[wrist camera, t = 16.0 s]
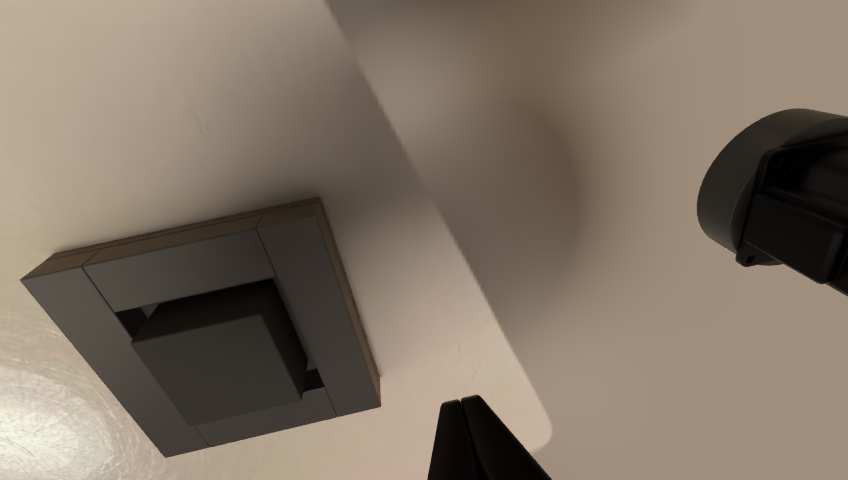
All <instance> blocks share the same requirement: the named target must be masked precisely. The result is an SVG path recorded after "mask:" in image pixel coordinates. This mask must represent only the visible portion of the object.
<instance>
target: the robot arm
mask: <svg viewBox="0 0 848 480" xmlns="http://www.w3.org/2000/svg"><path fill="white" fill-rule="evenodd" d="M772 160H773V161H772ZM775 260H778V261H779V262H781V263H783V264H785V265H787V266H788V267H790V268H792V269H794V270H795V271H797V272H799V273H801V274H802V275H804V276H806V277H808V278H809V279H811V280H813V281H815V282H817V283H819V284H827V285H828V286H830V287H832V288H834V289H836V290H837V291H839V292H841V293H843V294H845V295H846V296H848V132H844V133H839V134H835V135H830V136H826V137H821V138H817V139H812V140H808V141H803V142H799V143H794V144H790V145H785V146H781V147H776V148H772V149H769V150H767V151H766V152H765V153H764V154H763V155H762V156H761V158H760V160H759V164H758V168H757V172H756V176H755V181H754V185H753V189H752V193H751V197H750V201H749V205H748V209H747V213H746V217H745V221H744V225H743V229H742V233H741V238H740V242H739V246H738V250H737V254H736V262H737V263H739V264H741V265H742V266H744V267H750V266H754V265H758V264H763V263H767V262H771V261H775ZM427 480H552V479H551V478H550V477H549V476H548V474H547V473H546V472H545V471H544V470H543V469H542V468H541V466H540V465H539V464H538V463H537V462H536V460H535V459H534V458H533V457H532V456H531V455H530V453H529V452H528V451H527V450H526V449H525V448H524V446H523V445H522V444H521V443H520V442H519V441H518V439H517V438H516V437H515V436H514V435H513V434H512V433H511V431H510V430H509V429H508V428H507V427H506V426H505V424H504V423H503V422H502V421H501V420H500V419H499V417H498V416H497V415H496V414H495V413H494V412H493V410H492V409H491V408H490V407H489V406H488V405H487V403H486V402H485V401H484V400H483V399H482V398H481V397H480V396H479V395H473V396H469V397H464V398H462V399H461V402H460V400H457V399H456V400H452V401H448V402H444V403H442V405H441V408H440V413H439V419H438V424H437V430H436V435H435V441H434V446H433V452H432V457H431V463H430V468H429V474H428V479H427Z"/></svg>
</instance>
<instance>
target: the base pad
mask: <svg viewBox="0 0 848 480" xmlns="http://www.w3.org/2000/svg"><path fill="white" fill-rule="evenodd" d="M270 279H273V281H274V283H275V285H276V288H277V290H278V292H279V294H280V297H281V299H282V301H283V304H284V306H285V308H286V310H287V313H288V315H289V317H290V320H291V322H292V324H293V327H294V329H295V331H296V333H297V336H298V338H299V340H300V343H301V345H302V347H303V349H304V352H305V354H306V356H307V359H308V365H307V371H306V378H305V384H304V390H303V397H302V401H299V402H295V403H291V404H286V405H282V406H278V407H273V408H269V409H265V410H261V411H256V412H252V413H248V414H244V415H239V416H235V417H231V418H226V419H222V420H218V421H214V422H209V423H205V424H201V425H196V426H192V427H189V426H188V424H187V423H186V421H185V420H184V419H183V417H182V416H181V414H180V413H179V412H178V410H177V409H176V408H175V406H174V405H173V403H172V402H171V401H170V399H169V398H168V396H167V395H166V394H165V392H164V391H163V389H162V388H161V387H160V385H159V384H158V383H157V381H156V380H155V378H154V377H153V376H152V374H151V373H150V371H149V370H148V369H147V367H146V366H145V364H144V363H143V362H142V360H141V359H140V358H139V356H138V355H137V353H136V352H135V351H134V349H133V348H132V346H131V345H130V343H131V342H132V340H133V339H134V337H135V336H136V335H137V333H138V332H139V330H140V329H141V328H142V326H143V325H144V324H145V322H146V321H147V319H148V318H149V317H150V315H151V314H152V313H153V311H154V310H155V308H156V307H157V306H158V305H159V304H162V303H167V302H171V301H176V300H180V299H185V298H189V297H194V296H198V295H203V294H207V293H212V292H216V291H221V290H225V289H230V288H234V287H239V286H243V285H248V284H252V283H257V282H261V281H266V280H270ZM20 281H21V282H22V283H23V285H24V286H25V287H26V288H27V289H28V291H29V292H30V293H31V294H32V296H33V297H34V298H35V299H36V300H37V302H38V303H39V304H40V305H41V307H42V308H43V309H44V310H45V311H46V313H47V314H48V315H49V316H50V318H51V319H52V320H53V321H54V322H55V324H56V325H57V326H58V327H59V329H60V330H61V331H62V332H63V333H64V335H65V336H66V337H67V338H68V340H69V341H70V342H71V343H72V344H73V346H74V347H75V348H76V349H77V351H78V352H79V353H80V354H81V355H82V357H83V358H84V359H85V360H86V362H87V363H88V364H89V365H90V366H91V368H92V369H93V370H94V371H95V373H96V374H97V375H98V376H99V378H100V379H101V380H102V381H103V382H104V384H105V385H106V386H107V387H108V389H109V390H110V391H111V392H112V393H113V395H114V396H115V397H116V398H117V400H118V401H119V402H120V403H121V404H122V406H123V407H124V408H125V409H126V411H127V412H128V413H129V414H130V415H131V417H132V418H133V419H134V420H135V422H136V423H137V424H138V425H139V426H140V428H141V429H142V430H143V431H144V433H145V434H146V435H147V436H148V437H149V439H150V440H151V441H152V442H153V444H154V445H155V446H156V447H157V448H158V450H159V451H160V452H161V453H162V455H163V456H164V457H165V458H167V457H171V456H175V455H180V454H184V453H188V452H192V451H196V450H201V449H205V448H209V447H214V446H218V445H222V444H226V443H231V442H235V441H239V440H243V439H247V438H252V437H256V436H260V435H264V434H269V433H273V432H277V431H281V430H285V429H290V428H294V427H298V426H302V425H306V424H311V423H315V422H319V421H323V420H328V419H332V418H336V417H337V416H338V417H340V416H344V415H348V414H353V413H357V412H361V411H365V410H369V409H374V408H378V407H381V395H380V378H379V375H378V372H377V369H376V366H375V363H374V360H373V357H372V354H371V351H370V348H369V344H368V341H367V338H366V335H365V332H364V329H363V326H362V323H361V320H360V317H359V314H358V311H357V308H356V305H355V302H354V299H353V296H352V293H351V289H350V286H349V283H348V280H347V277H346V274H345V271H344V268H343V265H342V262H341V259H340V256H339V253H338V250H337V247H336V244H335V241H334V238H333V234H332V231H331V228H330V225H329V222H328V219H327V216H326V213H325V210H324V207H323V204H322V201H321V198H320V197H317V198H312V199H307V200H303V201H298V202H293V203H289V204H284V205H280V206H275V207H270V208H266V209H261V210H256V211H252V212H247V213H243V214H238V215H233V216H229V217H224V218H219V219H215V220H210V221H206V222H201V223H196V224H192V225H187V226H182V227H178V228H173V229H169V230H164V231H159V232H155V233H150V234H145V235H141V236H136V237H131V238H127V239H122V240H118V241H113V242H108V243H104V244H99V245H94V246H90V247H85V248H81V249H76V250H71V251H67V252H62V253H57V254H53V255H52V256H51V257H49V258H48V259H47V260H45V261H44V262H43V263H42V264H40V265H39V266H38V267H36V268H35V269H34V270H32V271H31V272H30V273H28V274H27V275H26V276H24V277H23V278H22V279H20Z"/></svg>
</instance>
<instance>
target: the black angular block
mask: <svg viewBox="0 0 848 480" xmlns="http://www.w3.org/2000/svg"><path fill="white" fill-rule="evenodd" d="M130 345H131V346H132V348H133V349H134V351H135V352H136V353H137V355H138V356H139V358H140V359H141V360H142V362H143V363H144V364H145V366H146V367H147V369H148V370H149V371H150V373H151V374H152V376H153V377H154V378H155V380H156V381H157V383H158V384H159V385H160V387H161V388H162V389H163V391H164V392H165V394H166V395H167V396H168V398H169V399H170V401H171V402H172V403H173V405H174V406H175V408H176V409H177V410H178V412H179V413H180V414H181V416H182V417H183V419H184V420H185V421H186V423H187V424H188V426H189V427H192V426H196V425H201V424H205V423H209V422H214V421H218V420H222V419H226V418H231V417H235V416H239V415H244V414H248V413H252V412H256V411H261V410H265V409H269V408H273V407H278V406H282V405H286V404H291V403H295V402H299V401H302V397H303V390H304V384H305V378H306V371H307V365H308V359H307V356H306V354H305V352H304V349H303V347H302V345H301V343H300V340H299V338H298V336H297V333H296V331H295V329H294V327H293V324H292V322H291V320H290V317H289V315H288V313H287V310H286V308H285V306H284V304H283V301H282V299H281V297H280V294H279V292H278V290H277V288H276V285H275V283H274V281H273V279H270V280H266V281H261V282H257V283H252V284H248V285H243V286H239V287H234V288H230V289H225V290H221V291H216V292H212V293H207V294H203V295H198V296H194V297H189V298H185V299H180V300H176V301H171V302H167V303H162V304H159V305H158V306H157V307H156V308H155V310H154V311H153V313H152V314H151V315H150V317H149V318H148V319H147V321H146V322H145V324H144V325H143V326H142V328H141V329H140V330H139V332H138V333H137V335H136V336H135V337H134V339H133V340H132V342H131V343H130Z"/></svg>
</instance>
